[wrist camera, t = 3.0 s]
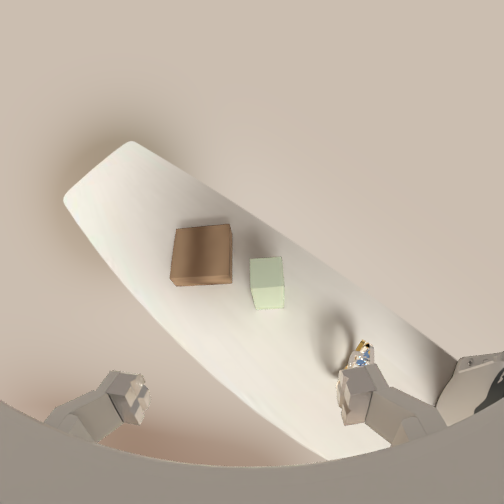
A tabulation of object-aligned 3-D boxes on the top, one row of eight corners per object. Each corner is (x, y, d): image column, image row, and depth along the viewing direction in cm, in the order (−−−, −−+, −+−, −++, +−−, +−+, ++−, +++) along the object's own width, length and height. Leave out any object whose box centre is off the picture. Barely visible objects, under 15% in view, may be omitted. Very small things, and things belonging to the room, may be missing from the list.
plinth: (232, 234, 46) (229, 223, 43) (232, 283, 41) (228, 274, 39) (181, 239, 47) (176, 229, 44) (176, 286, 42) (169, 278, 39)
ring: (350, 343, 35) (366, 329, 28) (368, 354, 34) (388, 342, 27) (323, 384, 32) (334, 381, 25) (342, 396, 31) (358, 395, 24)
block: (281, 283, 41) (281, 256, 34) (283, 308, 39) (284, 286, 32) (255, 285, 41) (249, 259, 34) (256, 310, 39) (250, 288, 32)
